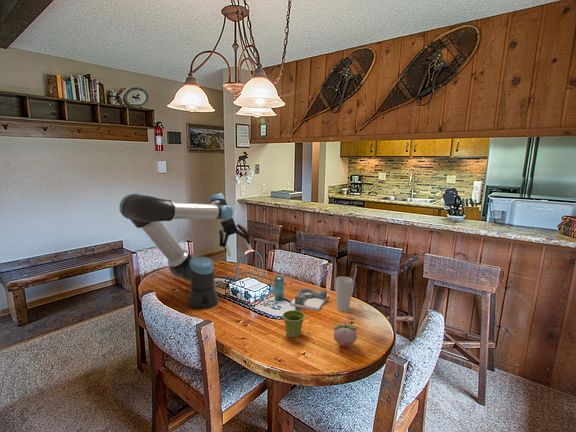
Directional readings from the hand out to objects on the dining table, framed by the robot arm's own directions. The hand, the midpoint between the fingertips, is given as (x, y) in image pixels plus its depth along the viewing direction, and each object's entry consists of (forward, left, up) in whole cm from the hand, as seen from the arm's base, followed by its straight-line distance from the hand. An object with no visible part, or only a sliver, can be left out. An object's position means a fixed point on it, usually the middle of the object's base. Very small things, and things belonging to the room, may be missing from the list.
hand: (240, 252), depth 190 cm
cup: (-9, -64, -19) cm, 68 cm away
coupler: (-11, -30, -19) cm, 37 cm away
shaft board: (-7, -46, -19) cm, 50 cm away
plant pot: (-40, -50, -19) cm, 67 cm away
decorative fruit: (-40, -72, -19) cm, 85 cm away
